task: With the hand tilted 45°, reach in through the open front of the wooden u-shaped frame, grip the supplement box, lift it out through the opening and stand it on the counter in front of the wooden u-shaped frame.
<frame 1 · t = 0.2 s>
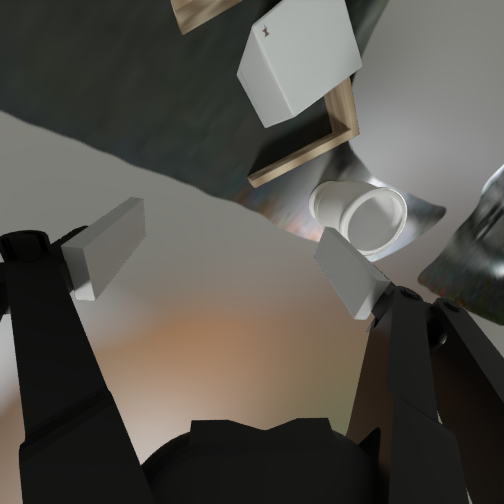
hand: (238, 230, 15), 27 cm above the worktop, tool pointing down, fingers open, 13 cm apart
jar: (326, 201, 44), on the worktop
wooden u-shaped frame: (274, 86, 34), on the worktop
supplement box: (273, 86, 34), on the worktop
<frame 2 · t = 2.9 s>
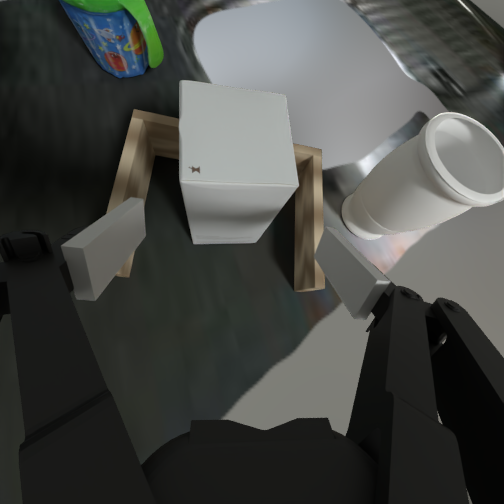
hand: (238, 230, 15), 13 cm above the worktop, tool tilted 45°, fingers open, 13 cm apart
snack cup: (124, 63, 33), on the worktop
jar: (362, 216, 35), on the worktop
wooden u-shaped frame: (224, 214, 30), on the worktop
supplement box: (224, 214, 30), on the worktop
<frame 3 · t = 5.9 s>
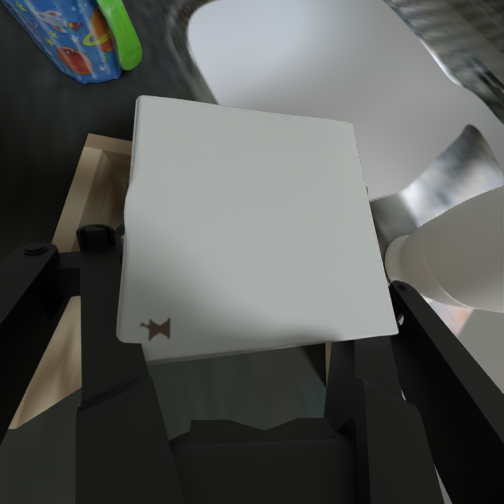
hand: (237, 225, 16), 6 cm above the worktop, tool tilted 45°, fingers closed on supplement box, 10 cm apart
snack cup: (93, 63, 24), on the worktop
jar: (411, 268, 26), on the worktop
wooden u-shaped frame: (227, 275, 21), on the worktop
supplement box: (227, 275, 21), on the worktop, touching gripper
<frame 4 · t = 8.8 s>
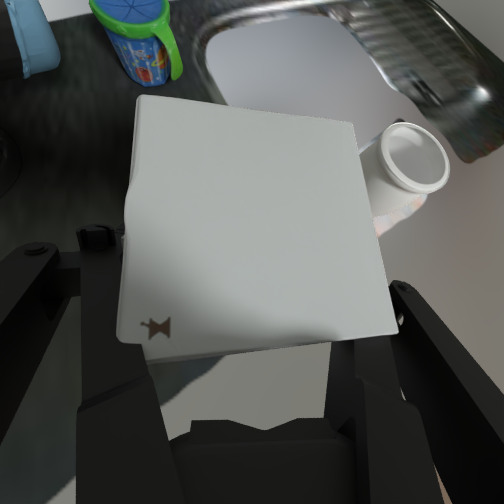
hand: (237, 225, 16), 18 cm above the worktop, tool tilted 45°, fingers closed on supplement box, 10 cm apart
snack cup: (149, 74, 40), on the worktop
jar: (344, 206, 41), on the worktop
supplement box: (227, 275, 21), point 12 cm above the worktop, touching gripper
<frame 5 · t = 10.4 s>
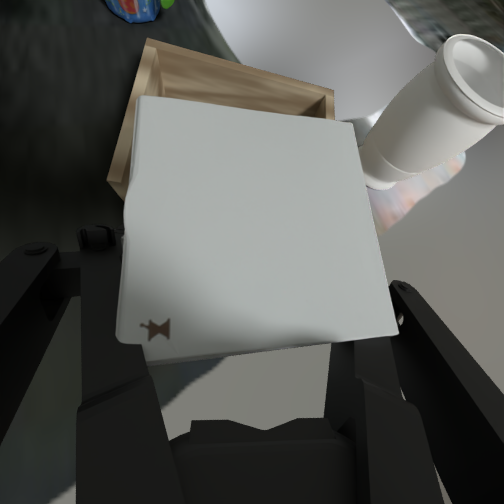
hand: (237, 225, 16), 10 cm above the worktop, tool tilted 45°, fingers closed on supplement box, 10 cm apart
snack cup: (135, 10, 33), on the worktop
jar: (372, 169, 35), on the worktop
wooden u-shaped frame: (235, 157, 30), on the worktop
supplement box: (227, 275, 21), point 4 cm above the worktop, touching gripper
when the fingers open (7 cm above the worktop, at t = 11.9 s): supplement box drops 1 cm, on the worktop.
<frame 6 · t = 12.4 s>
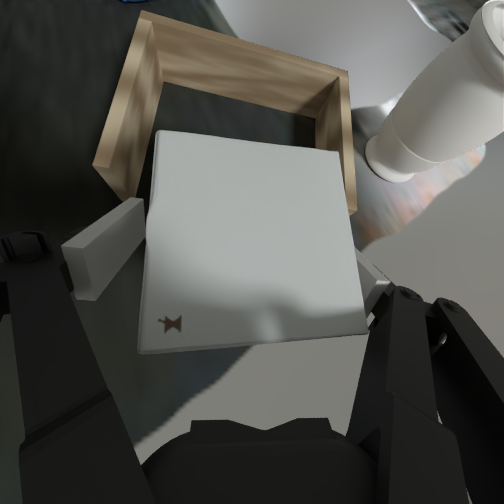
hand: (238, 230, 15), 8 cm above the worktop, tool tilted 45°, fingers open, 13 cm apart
jar: (387, 160, 32), on the worktop
wooden u-shaped frame: (239, 146, 27), on the worktop
supplement box: (228, 278, 23), on the worktop
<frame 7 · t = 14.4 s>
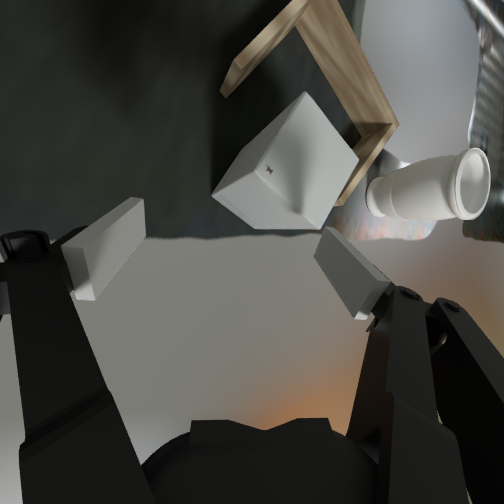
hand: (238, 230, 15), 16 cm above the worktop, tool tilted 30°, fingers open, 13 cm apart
jar: (377, 197, 45), on the worktop
wooden u-shaped frame: (308, 115, 36), on the worktop
supplement box: (248, 190, 33), on the worktop
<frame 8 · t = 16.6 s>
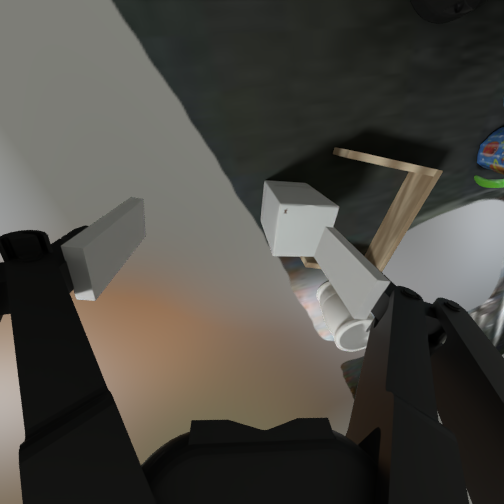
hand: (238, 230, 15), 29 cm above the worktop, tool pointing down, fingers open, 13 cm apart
snack cup: (492, 147, 43), on the worktop
jar: (330, 290, 59), on the worktop
wooden u-shaped frame: (355, 213, 47), on the worktop
supplement box: (282, 202, 45), on the worktop
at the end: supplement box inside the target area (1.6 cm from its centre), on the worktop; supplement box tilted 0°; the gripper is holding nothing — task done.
